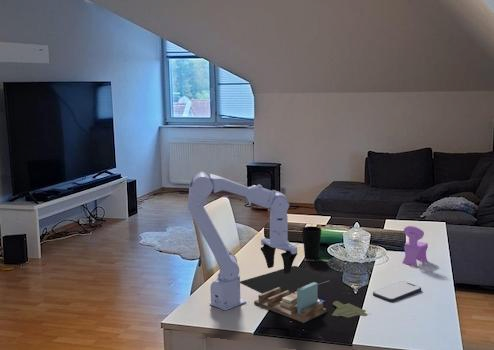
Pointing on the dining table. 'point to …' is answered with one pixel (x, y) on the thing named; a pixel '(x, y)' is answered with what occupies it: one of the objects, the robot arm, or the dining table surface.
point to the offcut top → (290, 299)
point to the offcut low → (287, 304)
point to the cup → (311, 242)
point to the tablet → (284, 280)
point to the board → (307, 296)
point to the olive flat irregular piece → (347, 310)
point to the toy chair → (414, 246)
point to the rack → (273, 303)
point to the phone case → (397, 291)
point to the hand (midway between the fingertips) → (278, 270)
